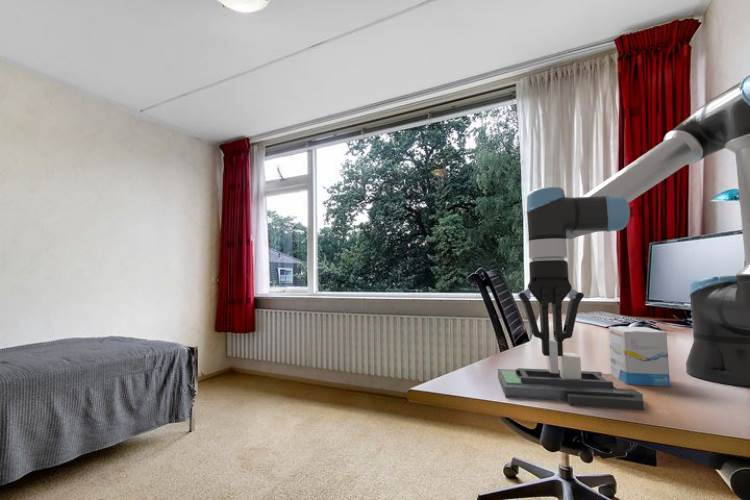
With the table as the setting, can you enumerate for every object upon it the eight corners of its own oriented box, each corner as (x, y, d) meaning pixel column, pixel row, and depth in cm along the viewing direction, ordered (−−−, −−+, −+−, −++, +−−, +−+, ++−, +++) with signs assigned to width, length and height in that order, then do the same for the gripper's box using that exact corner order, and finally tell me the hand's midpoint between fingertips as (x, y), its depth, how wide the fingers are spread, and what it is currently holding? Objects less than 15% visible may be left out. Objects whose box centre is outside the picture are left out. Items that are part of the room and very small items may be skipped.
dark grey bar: (639, 407, 66) (639, 398, 66) (644, 410, 64) (643, 401, 64) (567, 402, 68) (567, 393, 69) (570, 405, 67) (569, 396, 67)
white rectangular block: (575, 376, 77) (574, 353, 78) (581, 382, 73) (580, 357, 74) (560, 376, 78) (559, 352, 78) (565, 381, 74) (564, 356, 74)
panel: (611, 383, 80) (611, 369, 80) (643, 405, 67) (642, 388, 67) (497, 377, 85) (497, 364, 86) (505, 397, 72) (504, 381, 72)
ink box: (671, 387, 77) (667, 331, 78) (627, 384, 79) (624, 330, 80) (649, 376, 86) (646, 326, 87) (610, 374, 87) (607, 325, 88)
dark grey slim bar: (600, 379, 84) (600, 371, 84) (603, 381, 82) (603, 373, 82) (518, 374, 88) (517, 368, 88) (519, 376, 86) (518, 369, 86)
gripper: (575, 260, 80) (581, 368, 79) (513, 261, 83) (517, 365, 82) (587, 258, 73) (593, 378, 71) (518, 260, 76) (523, 374, 74)
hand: (553, 371), depth 77 cm, fingers closed
